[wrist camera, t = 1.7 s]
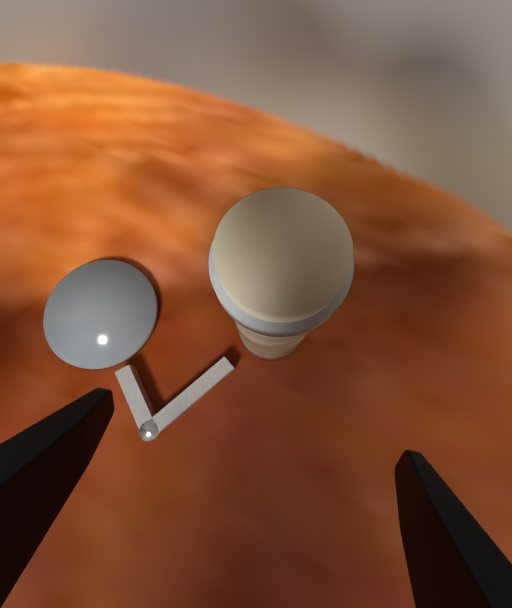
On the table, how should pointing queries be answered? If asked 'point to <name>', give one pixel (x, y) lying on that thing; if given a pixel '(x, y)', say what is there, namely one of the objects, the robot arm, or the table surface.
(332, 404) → the table surface
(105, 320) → the coaster
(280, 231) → the ringed post
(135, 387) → the bent rod
